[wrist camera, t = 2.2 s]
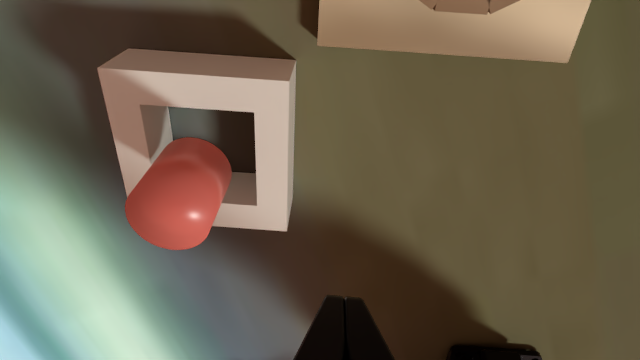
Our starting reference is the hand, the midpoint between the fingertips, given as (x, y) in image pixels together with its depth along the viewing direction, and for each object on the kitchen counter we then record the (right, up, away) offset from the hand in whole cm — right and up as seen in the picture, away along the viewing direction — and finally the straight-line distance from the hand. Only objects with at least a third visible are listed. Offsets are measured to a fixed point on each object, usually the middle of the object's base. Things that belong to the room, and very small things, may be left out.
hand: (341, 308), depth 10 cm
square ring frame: (-6, +6, +12) cm, 15 cm away
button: (-6, +4, +10) cm, 12 cm away
